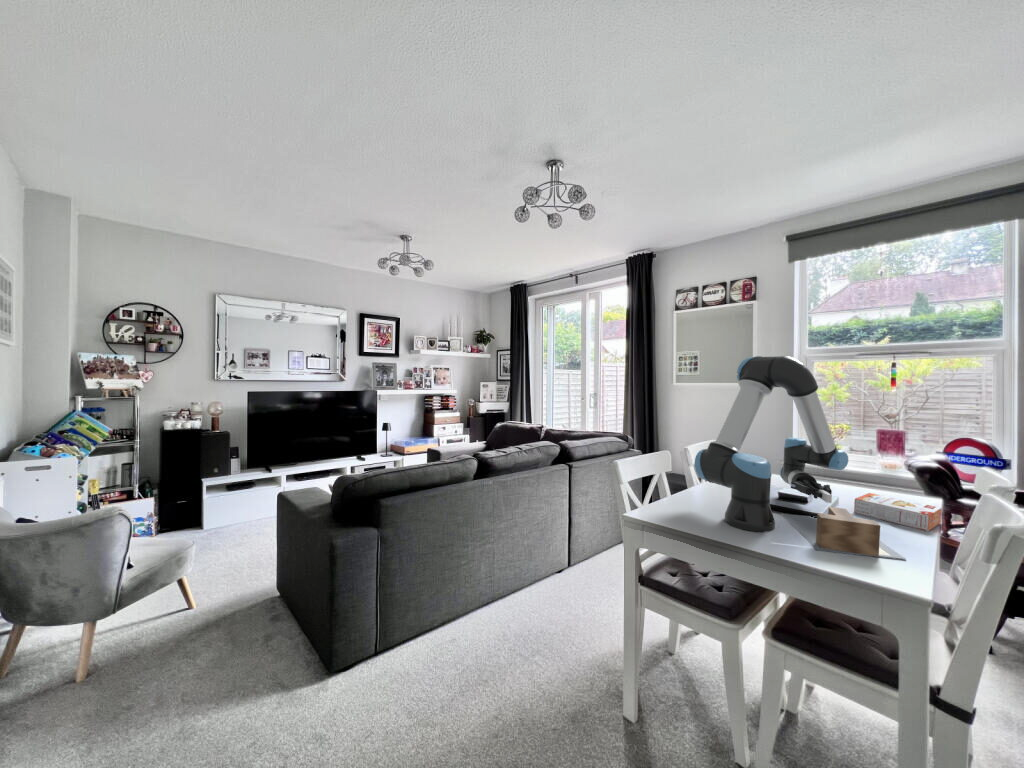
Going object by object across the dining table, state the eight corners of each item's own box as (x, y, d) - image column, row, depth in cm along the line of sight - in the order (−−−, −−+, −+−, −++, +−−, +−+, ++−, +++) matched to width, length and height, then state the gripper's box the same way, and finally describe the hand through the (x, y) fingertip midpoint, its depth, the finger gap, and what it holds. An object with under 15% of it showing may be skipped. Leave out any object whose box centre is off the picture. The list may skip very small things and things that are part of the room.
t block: (819, 547, 128) (820, 517, 127) (809, 531, 140) (810, 504, 139) (878, 556, 122) (880, 525, 121) (863, 539, 134) (864, 511, 134)
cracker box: (868, 491, 167) (942, 507, 150) (867, 506, 167) (941, 524, 150) (854, 497, 159) (930, 514, 142) (853, 513, 160) (929, 532, 142)
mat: (816, 550, 126) (816, 548, 126) (780, 514, 157) (780, 513, 157) (906, 560, 120) (906, 559, 120) (850, 521, 151) (850, 520, 151)
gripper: (821, 493, 165) (851, 512, 142) (782, 489, 169) (806, 507, 146) (822, 473, 165) (852, 489, 142) (784, 470, 168) (807, 485, 146)
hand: (829, 498), depth 144 cm, fingers closed
